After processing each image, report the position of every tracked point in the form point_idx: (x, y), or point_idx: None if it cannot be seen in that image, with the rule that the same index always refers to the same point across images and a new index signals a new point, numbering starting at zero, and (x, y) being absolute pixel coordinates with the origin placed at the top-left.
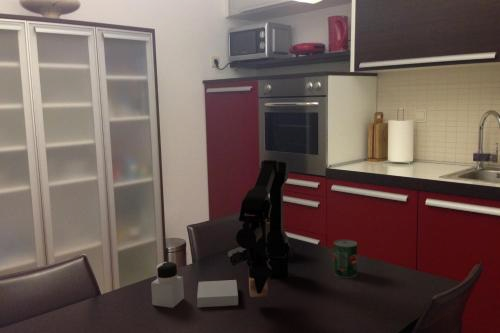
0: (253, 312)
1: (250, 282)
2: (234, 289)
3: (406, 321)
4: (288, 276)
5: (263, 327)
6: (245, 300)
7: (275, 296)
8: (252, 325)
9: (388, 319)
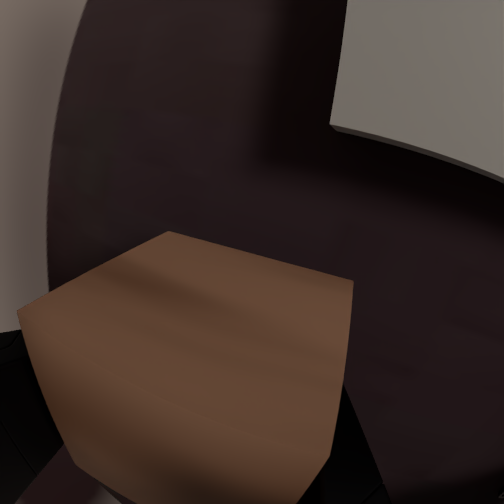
0: (185, 212)
1: (41, 302)
2: (498, 142)
3: (113, 496)
4: (498, 496)
5: (51, 215)
6: (405, 218)
7: (365, 416)
8: (66, 168)
9: None
